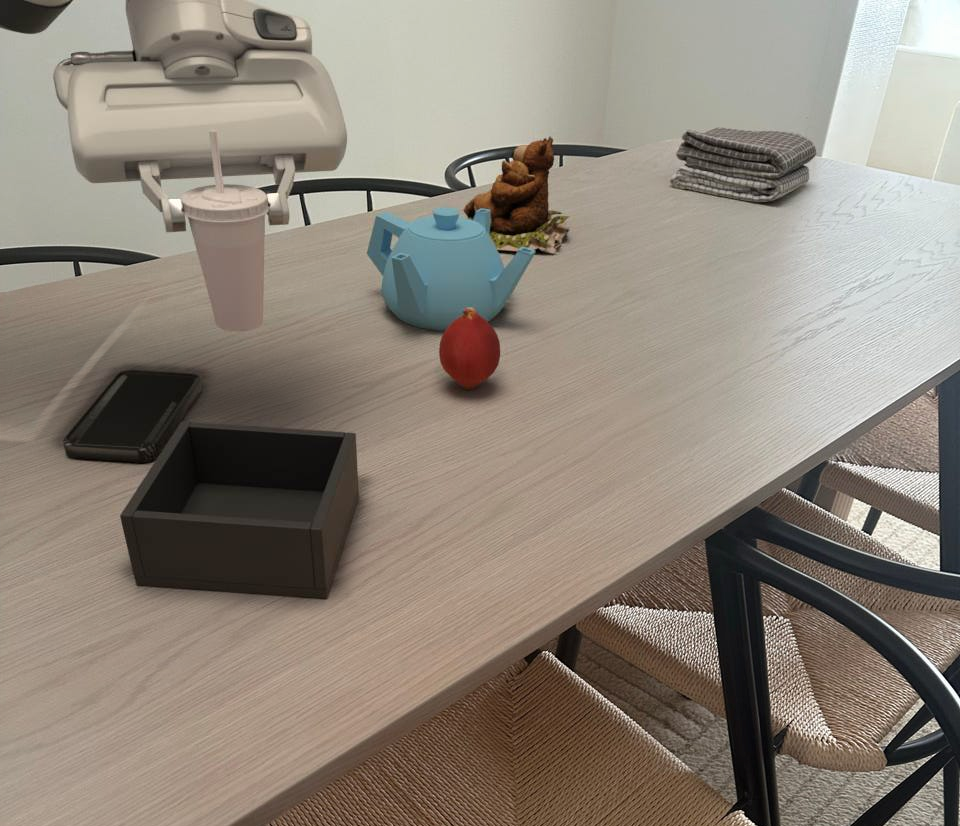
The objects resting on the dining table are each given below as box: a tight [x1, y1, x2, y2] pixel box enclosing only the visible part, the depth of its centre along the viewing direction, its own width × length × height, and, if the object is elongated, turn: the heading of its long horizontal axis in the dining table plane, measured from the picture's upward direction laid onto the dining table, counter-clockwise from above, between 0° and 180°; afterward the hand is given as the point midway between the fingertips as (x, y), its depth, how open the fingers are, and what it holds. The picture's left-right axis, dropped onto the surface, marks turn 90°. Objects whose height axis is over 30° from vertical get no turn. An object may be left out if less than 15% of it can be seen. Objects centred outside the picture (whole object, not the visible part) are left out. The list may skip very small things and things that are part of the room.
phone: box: [62, 368, 203, 463], centre depth 88 cm, size 8×1×15 cm
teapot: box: [366, 206, 536, 332], centre depth 107 cm, size 15×15×11 cm
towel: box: [669, 127, 818, 203], centre depth 151 cm, size 15×18×8 cm
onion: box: [438, 307, 501, 390], centre depth 93 cm, size 6×6×8 cm
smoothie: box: [180, 130, 269, 333], centre depth 75 cm, size 6×6×14 cm
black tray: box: [119, 420, 360, 600], centre depth 73 cm, size 14×14×6 cm
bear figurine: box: [462, 135, 571, 254], centre depth 127 cm, size 14×15×12 cm
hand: (229, 224), depth 74 cm, fingers closed on smoothie, 6 cm apart
